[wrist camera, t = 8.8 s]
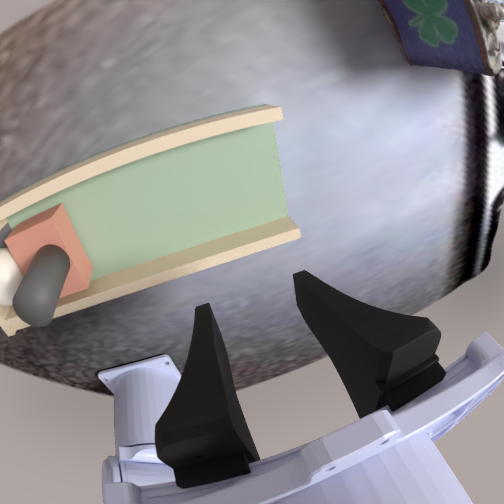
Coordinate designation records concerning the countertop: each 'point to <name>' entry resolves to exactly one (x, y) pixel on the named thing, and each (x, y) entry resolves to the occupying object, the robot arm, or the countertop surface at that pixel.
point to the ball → (8, 277)
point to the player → (47, 264)
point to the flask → (448, 33)
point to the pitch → (165, 205)
